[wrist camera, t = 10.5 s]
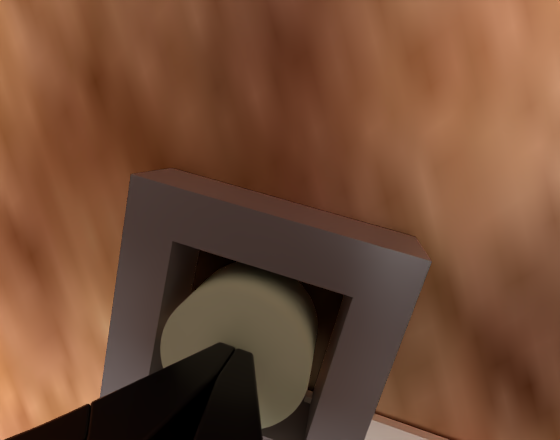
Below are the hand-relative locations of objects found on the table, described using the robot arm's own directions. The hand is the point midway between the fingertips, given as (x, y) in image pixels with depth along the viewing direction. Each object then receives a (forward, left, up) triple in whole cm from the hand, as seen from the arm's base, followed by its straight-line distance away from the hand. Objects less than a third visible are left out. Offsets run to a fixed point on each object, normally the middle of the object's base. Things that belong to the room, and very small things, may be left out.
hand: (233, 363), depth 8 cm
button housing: (0, 0, -2) cm, 2 cm away
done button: (0, 0, -2) cm, 2 cm away
